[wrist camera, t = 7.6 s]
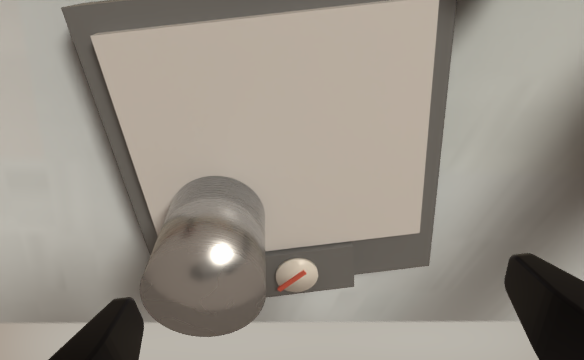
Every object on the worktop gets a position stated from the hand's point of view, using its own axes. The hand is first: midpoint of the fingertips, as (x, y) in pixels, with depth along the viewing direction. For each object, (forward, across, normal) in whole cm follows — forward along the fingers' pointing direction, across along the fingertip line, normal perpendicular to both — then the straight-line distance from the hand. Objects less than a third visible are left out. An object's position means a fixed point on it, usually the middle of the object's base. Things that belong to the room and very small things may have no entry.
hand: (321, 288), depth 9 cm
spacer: (+9, +4, +3) cm, 10 cm away
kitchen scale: (+11, +1, +1) cm, 12 cm away
